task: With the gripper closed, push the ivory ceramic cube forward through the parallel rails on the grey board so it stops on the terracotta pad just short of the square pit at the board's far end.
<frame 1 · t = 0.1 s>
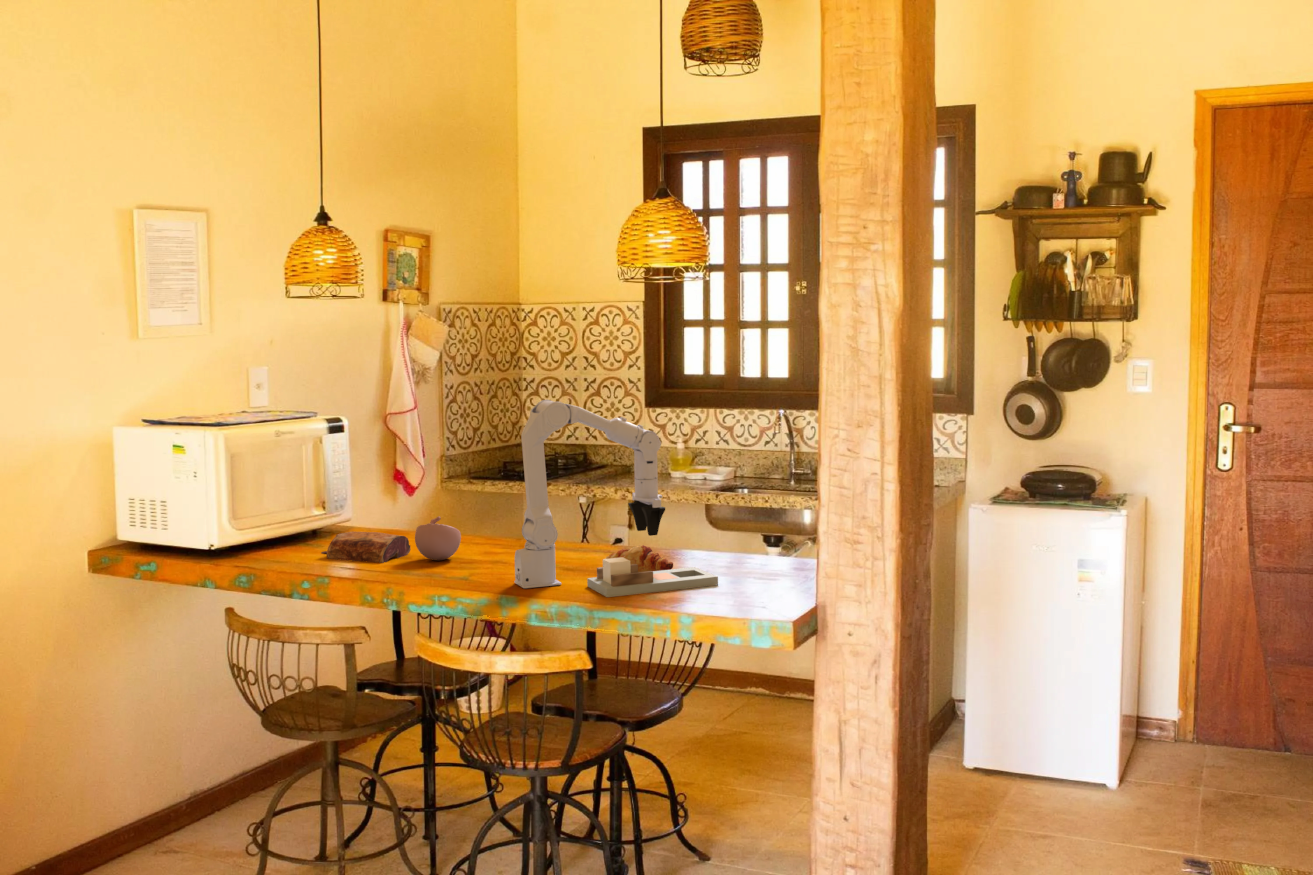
hand: (647, 532, 316), 10 cm above the breakfast bar, tool pointing down, fingers open, 7 cm apart
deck: (652, 585, 302), on the breakfast bar
parallel rails: (624, 580, 299), resting on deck
croissant: (638, 571, 321), on the breakfast bar
pink apple: (438, 560, 339), on the breakfast bar
cured meat: (362, 556, 349), on the breakfast bar
cube: (616, 581, 298), point 2 cm above the breakfast bar, touching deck
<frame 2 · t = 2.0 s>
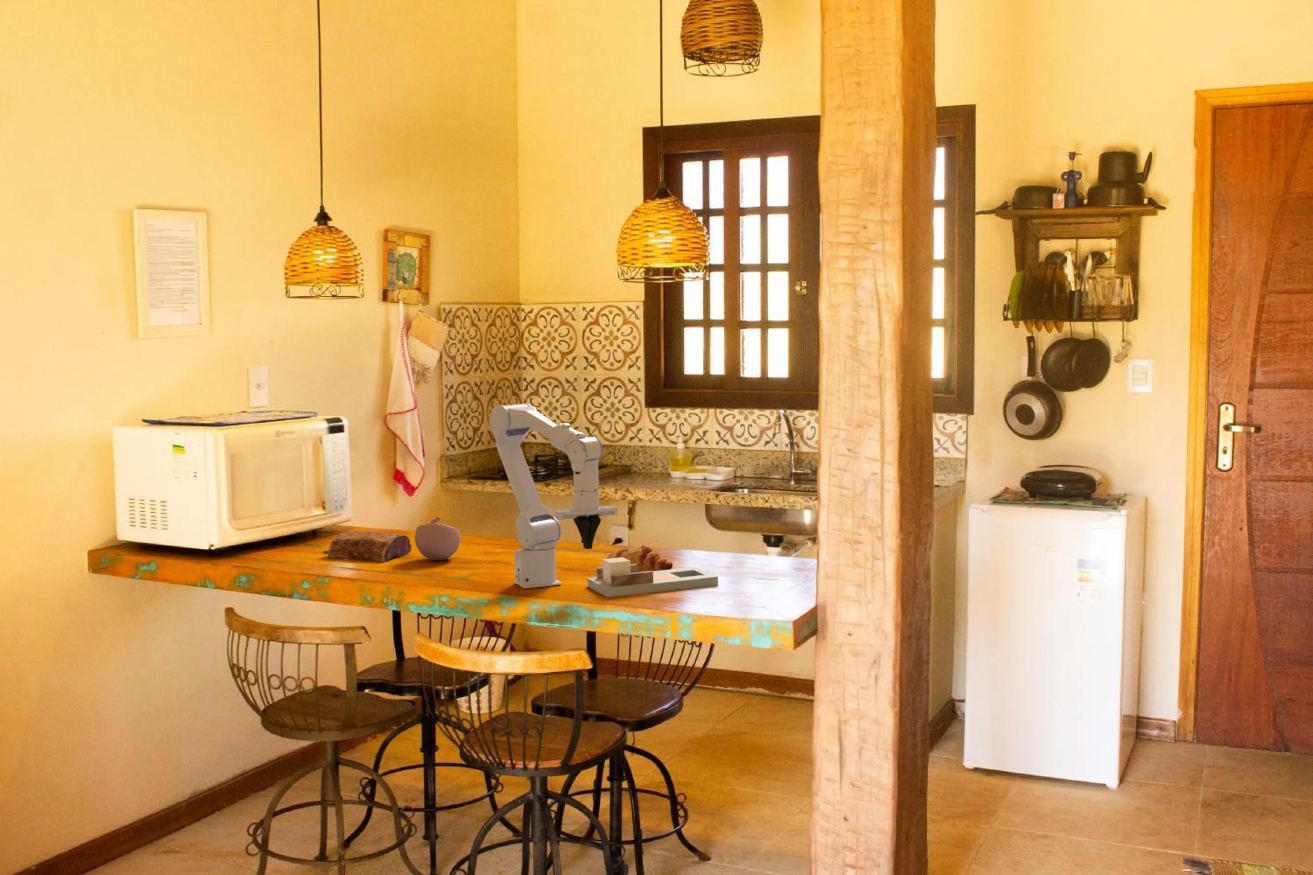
hand: (587, 548, 295), 10 cm above the breakfast bar, tool pointing down, fingers closed
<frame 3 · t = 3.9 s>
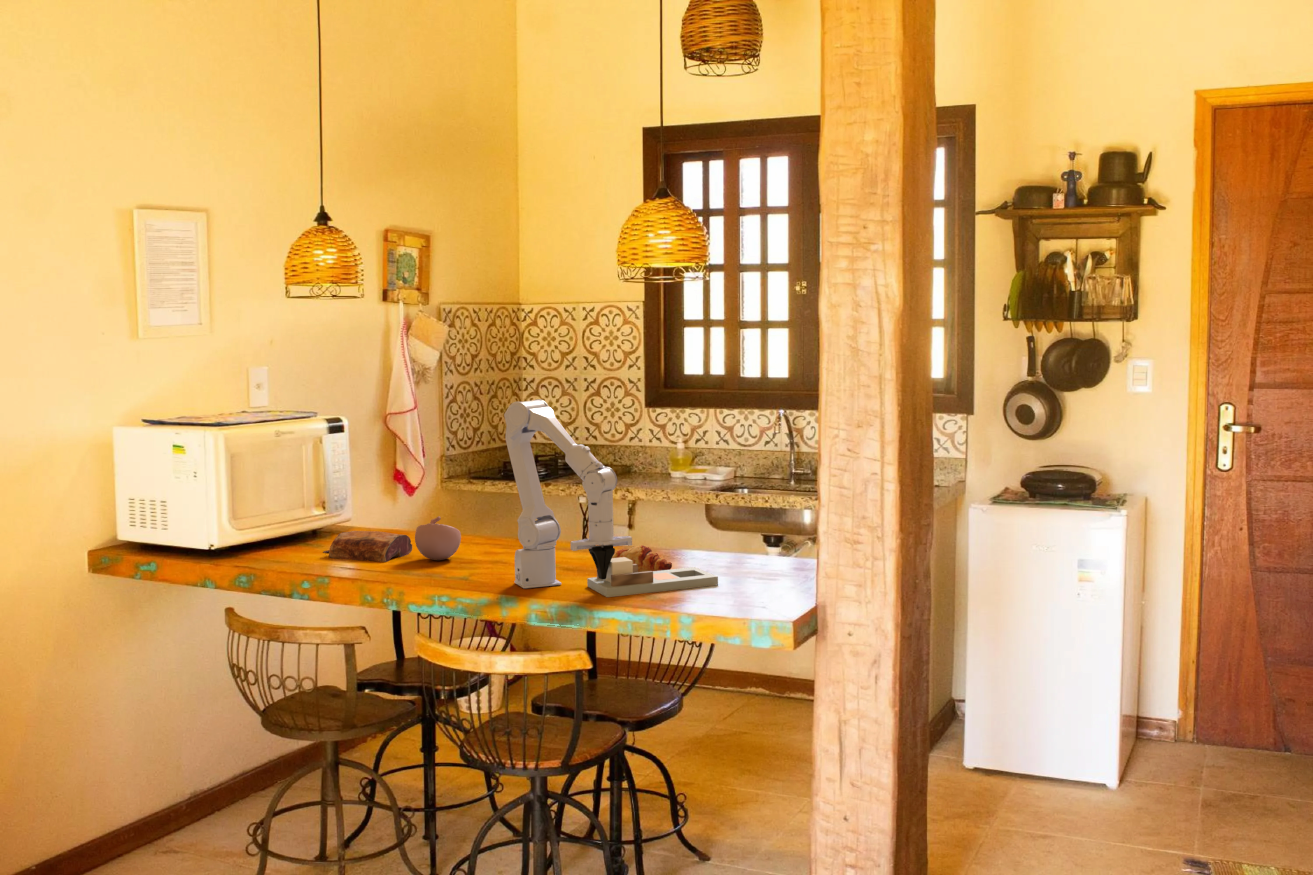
hand: (602, 578, 297), 3 cm above the breakfast bar, tool pointing down, fingers closed
cube: (619, 580, 298), point 2 cm above the breakfast bar, touching gripper
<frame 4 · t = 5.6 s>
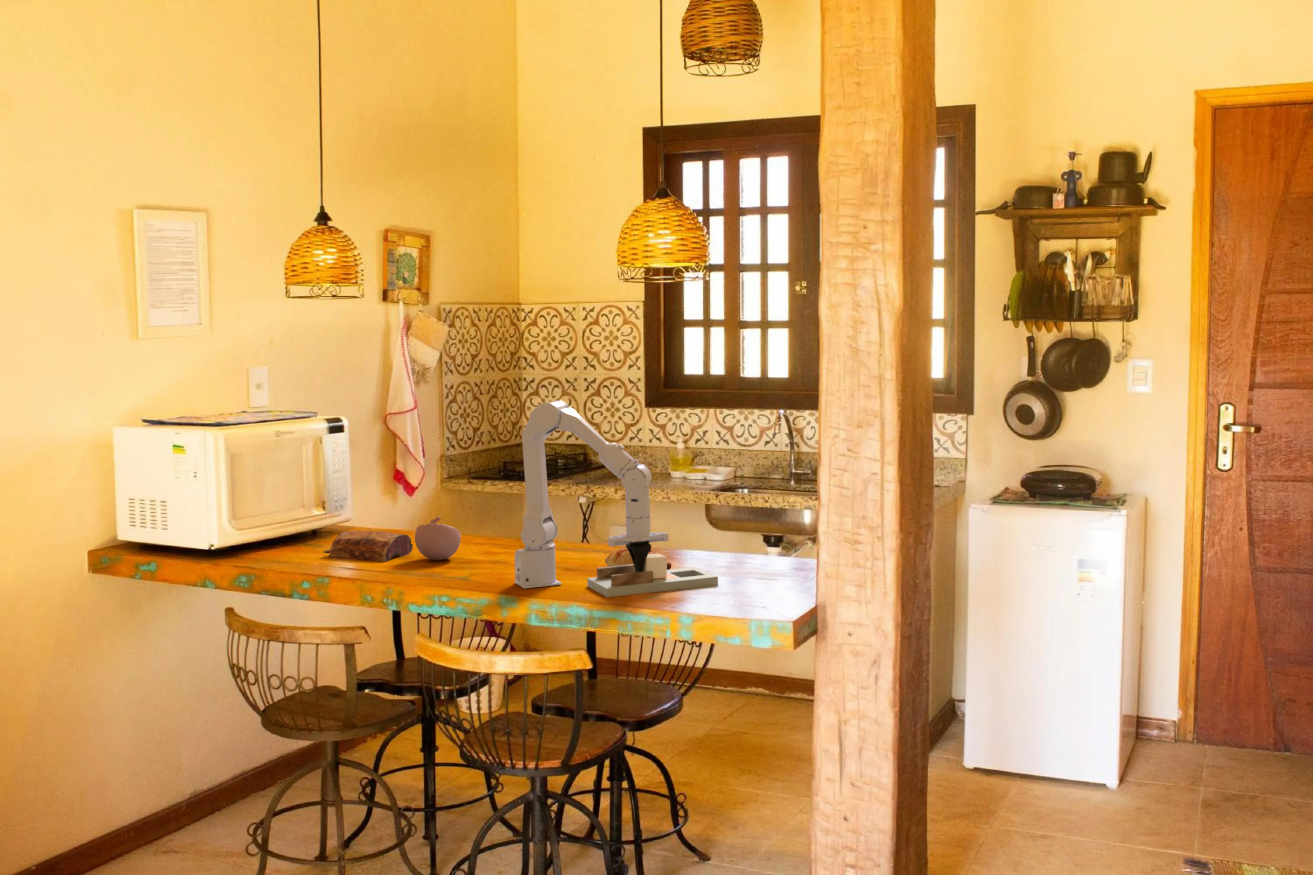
hand: (639, 573, 300), 3 cm above the breakfast bar, tool pointing down, fingers closed, pressing on cube
cube: (652, 576, 301), point 2 cm above the breakfast bar, touching gripper
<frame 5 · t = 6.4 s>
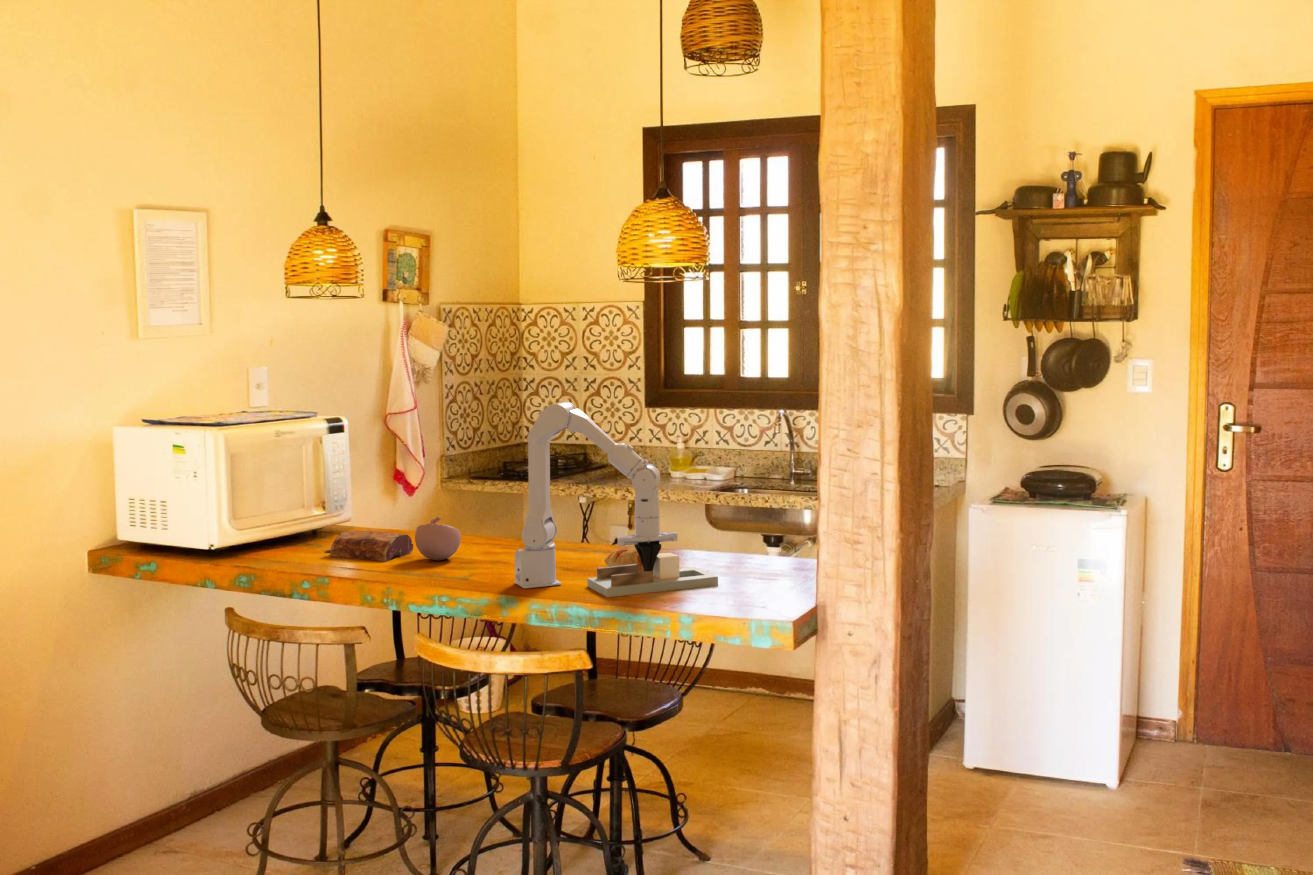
hand: (648, 573, 301), 3 cm above the breakfast bar, tool pointing down, fingers closed
cube: (665, 575, 303), point 2 cm above the breakfast bar, touching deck, gripper
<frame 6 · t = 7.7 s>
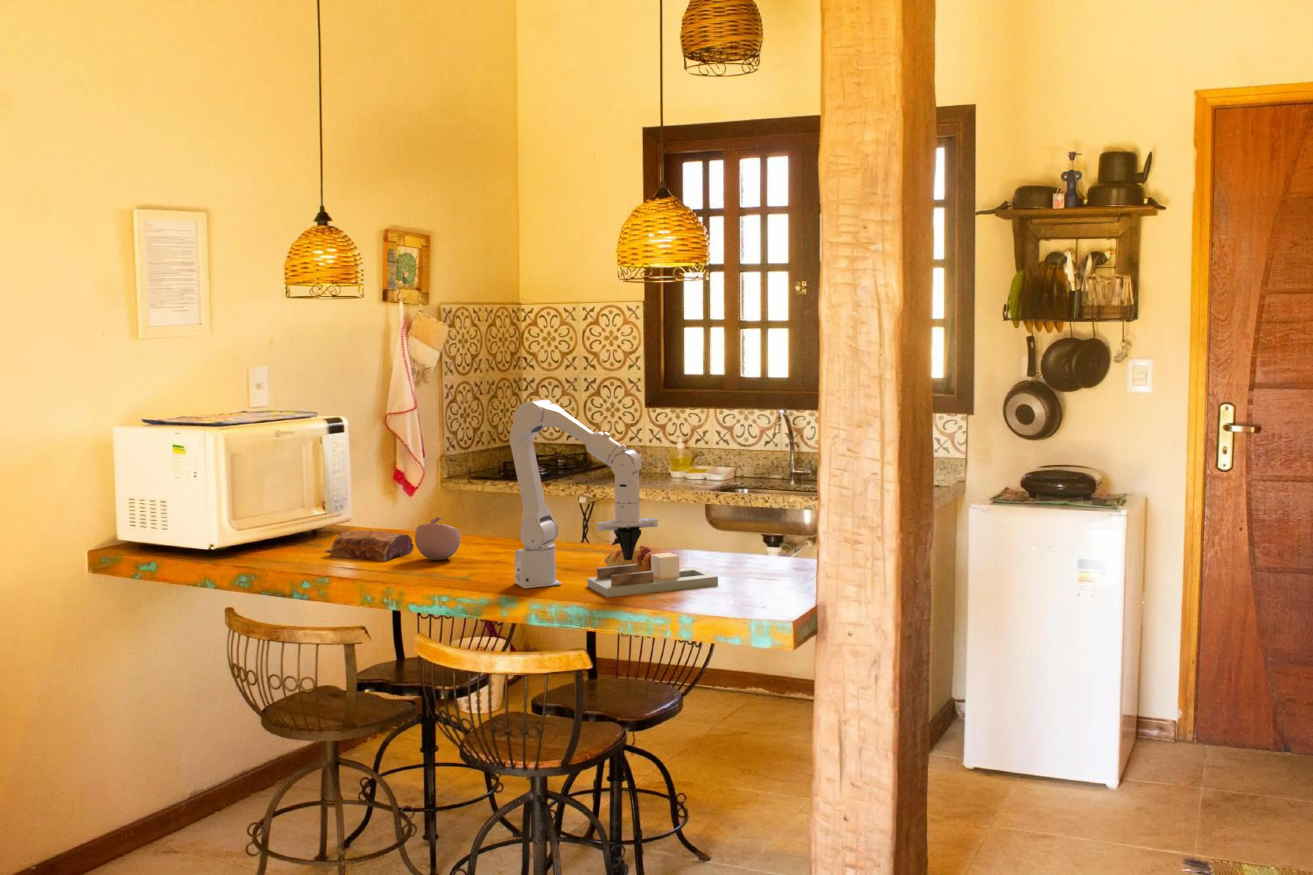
hand: (627, 559, 299), 7 cm above the breakfast bar, tool pointing down, fingers closed
cube: (665, 575, 303), point 2 cm above the breakfast bar, touching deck
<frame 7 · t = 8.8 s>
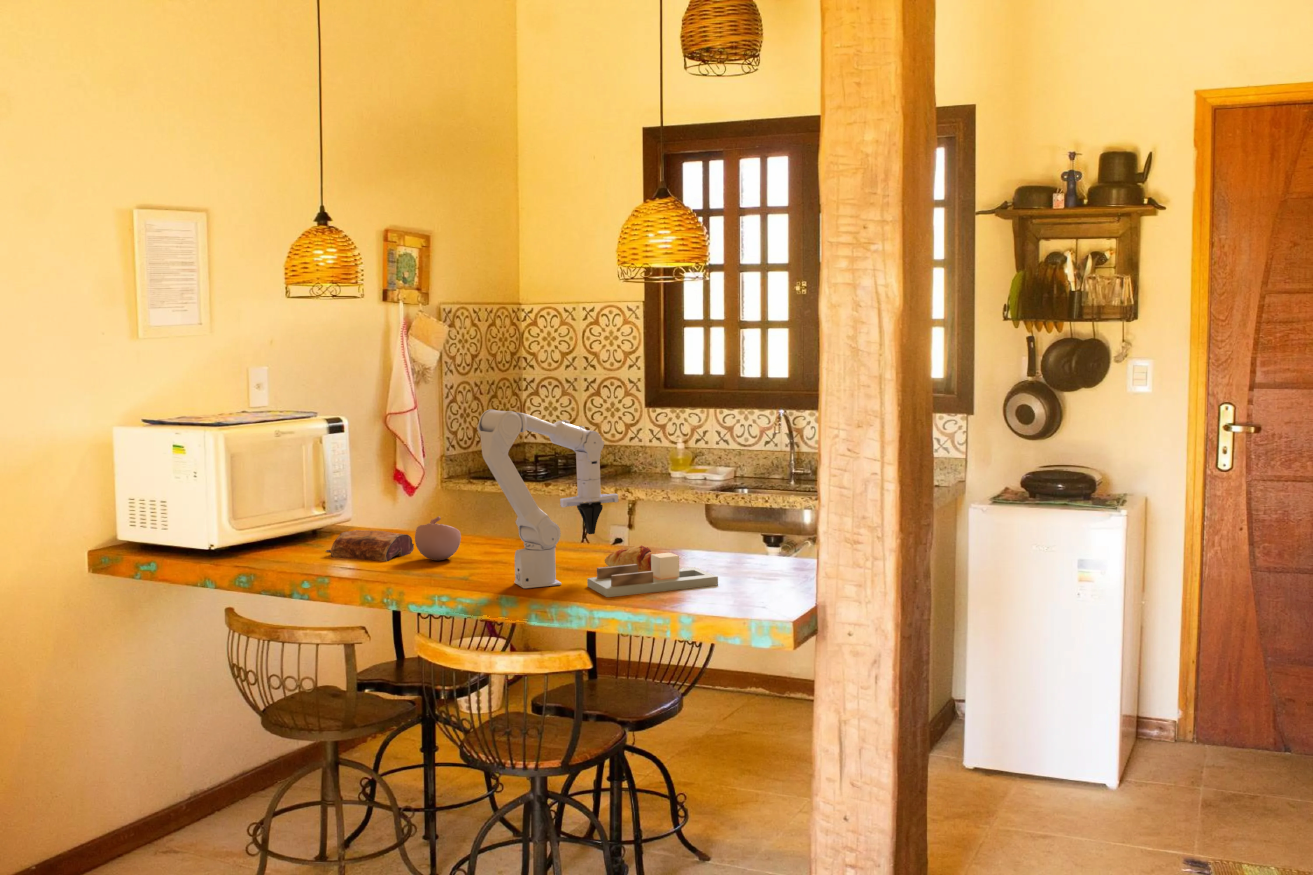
hand: (590, 533, 315), 10 cm above the breakfast bar, tool pointing down, fingers closed
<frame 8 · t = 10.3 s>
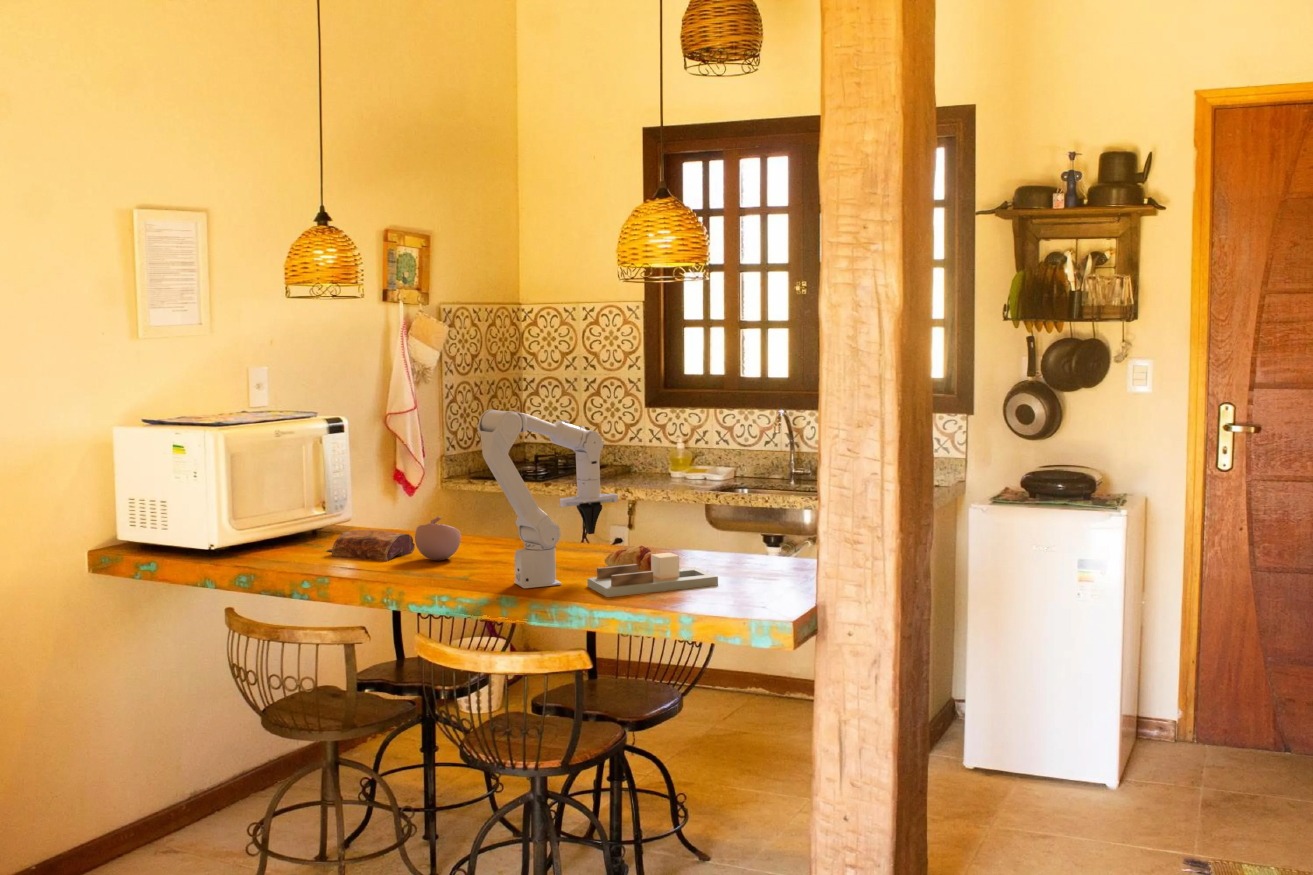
hand: (590, 533, 315), 10 cm above the breakfast bar, tool pointing down, fingers closed
at the end: cube inside the target area on the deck (0.5 cm from its centre), point 2.0 cm above the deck's base; cube tilted 0° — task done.
